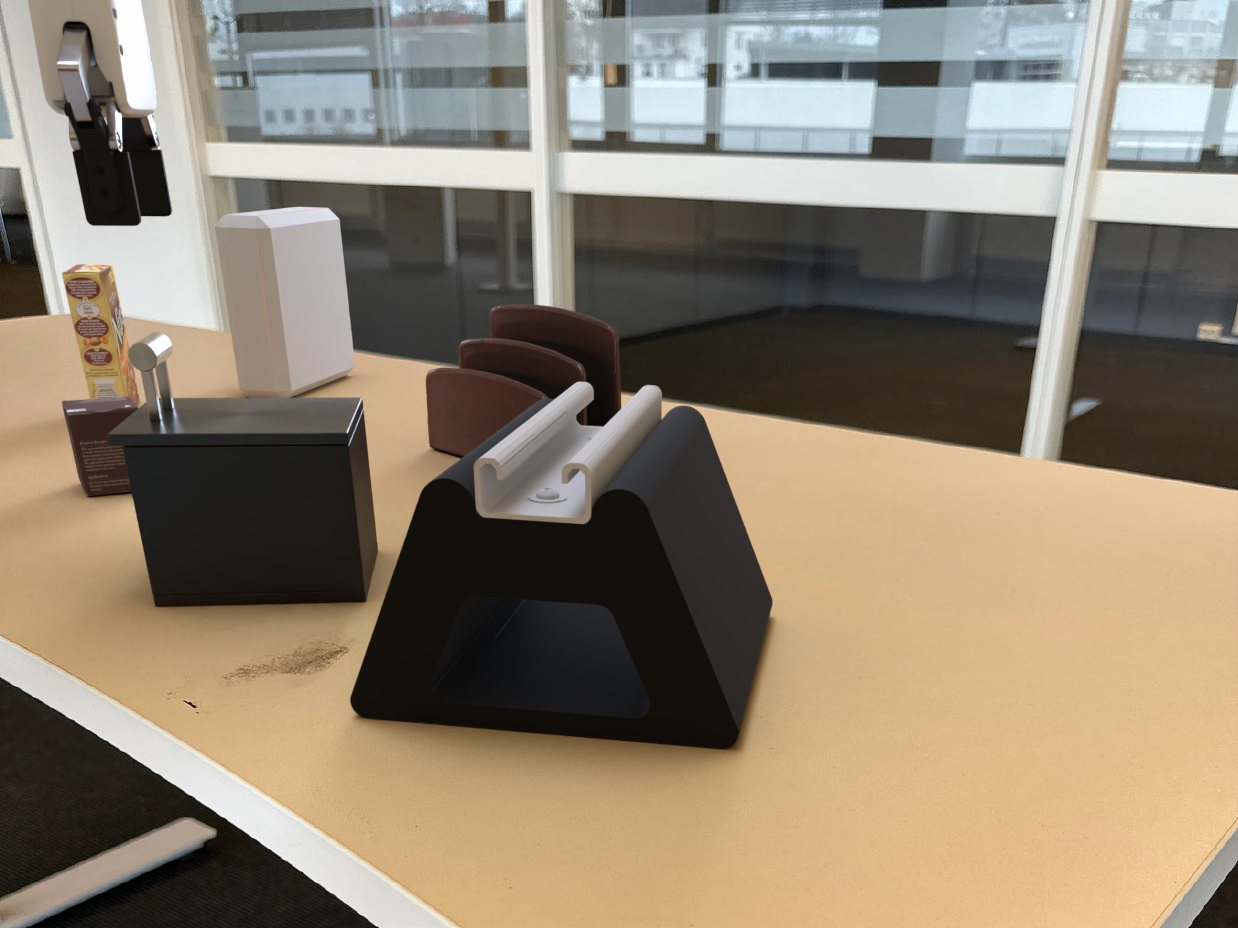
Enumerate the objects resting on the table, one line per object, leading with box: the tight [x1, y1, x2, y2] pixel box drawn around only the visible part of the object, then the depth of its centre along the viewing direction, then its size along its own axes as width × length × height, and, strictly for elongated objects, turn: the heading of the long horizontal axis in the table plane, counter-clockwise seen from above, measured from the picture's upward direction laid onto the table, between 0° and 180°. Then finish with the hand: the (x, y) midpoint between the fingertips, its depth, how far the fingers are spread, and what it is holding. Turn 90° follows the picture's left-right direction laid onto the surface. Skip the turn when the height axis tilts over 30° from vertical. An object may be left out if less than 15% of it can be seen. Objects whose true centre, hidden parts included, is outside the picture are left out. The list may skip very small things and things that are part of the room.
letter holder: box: [425, 303, 622, 458], centre depth 123 cm, size 10×20×14 cm, turn 45°
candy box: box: [61, 263, 142, 408], centre depth 137 cm, size 9×4×15 cm, turn 13°
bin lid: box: [107, 331, 364, 446], centre depth 85 cm, size 15×13×6 cm
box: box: [61, 396, 138, 497], centre depth 112 cm, size 6×6×7 cm
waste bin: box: [123, 409, 379, 607], centre depth 89 cm, size 15×13×11 cm
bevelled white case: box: [214, 206, 356, 398], centre depth 154 cm, size 21×8×20 cm, turn 169°
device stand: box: [349, 382, 774, 750], centre depth 75 cm, size 22×22×15 cm
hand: (132, 220), depth 81 cm, fingers open, 9 cm apart
